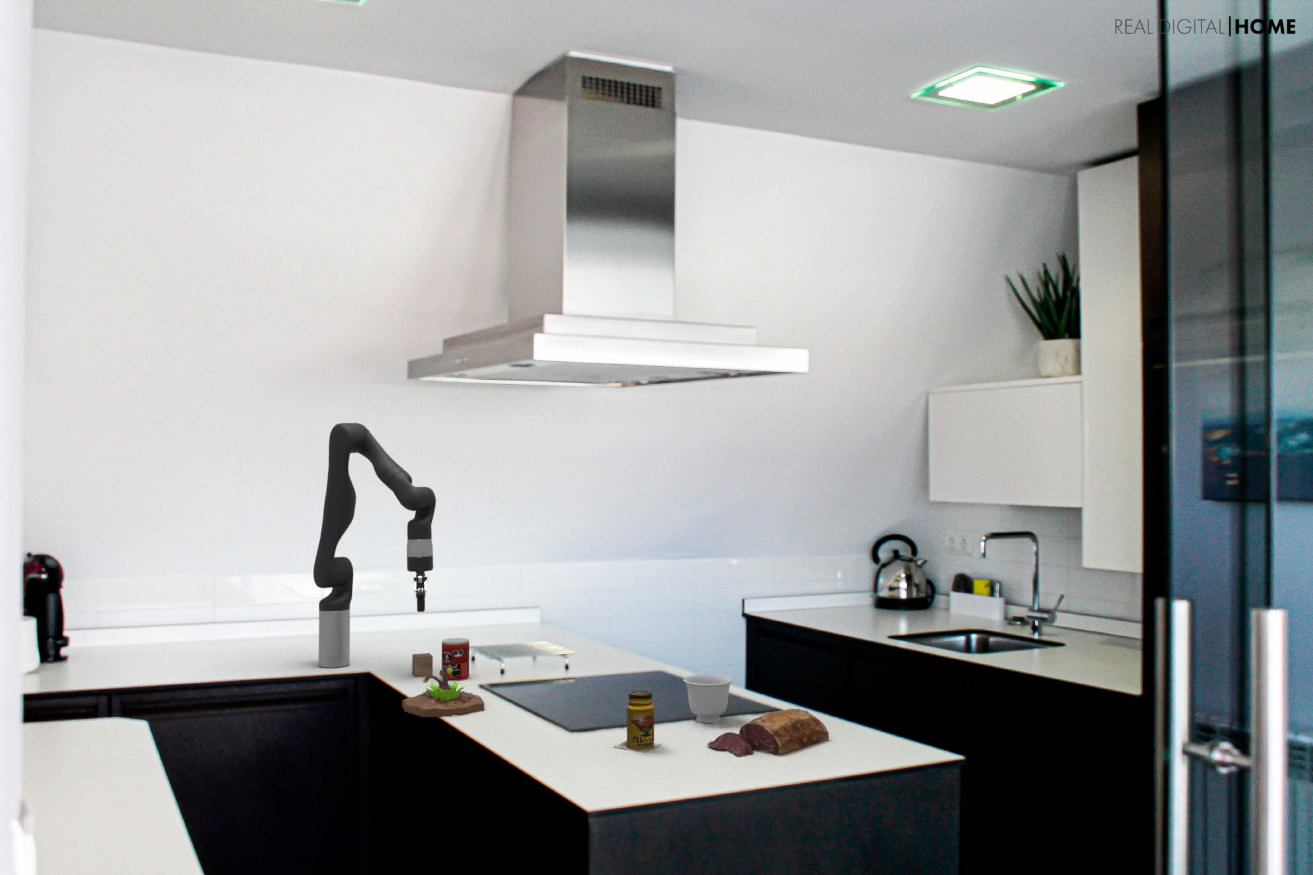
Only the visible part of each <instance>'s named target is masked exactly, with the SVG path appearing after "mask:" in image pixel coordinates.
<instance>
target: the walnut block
mask: <svg viewBox="0 0 1313 875" xmlns="http://www.w3.org/2000/svg"><path fill="white" fill-rule="evenodd" d="M411 655H412V656H411V657H412V658H411V659H412V664H411V665H412V667H411V668H412V672H411V675H412V674H413V675H414V676H413V675H412V676H413V677H414V678H415V677H416V678H425V677H427V676H434V675H433V670H434V669H433V667H434V664H433V662H434V658H433V657H434V656H433V654H431V653H430V652H427V653H413V654H411Z"/></svg>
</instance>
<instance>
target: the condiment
mask: <svg viewBox="0 0 1313 875" xmlns="http://www.w3.org/2000/svg"><path fill="white" fill-rule="evenodd" d="M627 700H628V702H627V703H628V704H627V706H626V740H625V741H623V742H621V743H619V744H616V745H614V746H613V748H617V749H624V750H629V751H635V752H641V753H646V752H647V753H648V752H649V751H652V750H653V749H655V748H657V747H659V746H661V745H662V743H657V742H655V706H654V704H653V693H652V692H651V691H648V690H647V691H646V690H633V691H631V692H629V693H628V699H627Z"/></svg>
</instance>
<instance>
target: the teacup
mask: <svg viewBox="0 0 1313 875" xmlns="http://www.w3.org/2000/svg"><path fill="white" fill-rule="evenodd" d="M683 682H684V683H685V685H686V689H687V690H686V691H687V698H688V705H689V709H690V711H691V712H692V713H691V714H694V715H695V716H696V721H697V722H699V723H704V724H714V723H715V724H716V723H718V722H720V721H721V718H720V716H723V714H725V713H726V711H727V707H728V702H729V694H730V693H729V692H730V686H731V683H733V678H731V677H729V676H727V675H721V674H720V675H719V674H710V673H709V674H693V675H689V676H686V677H685V678H683Z"/></svg>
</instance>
